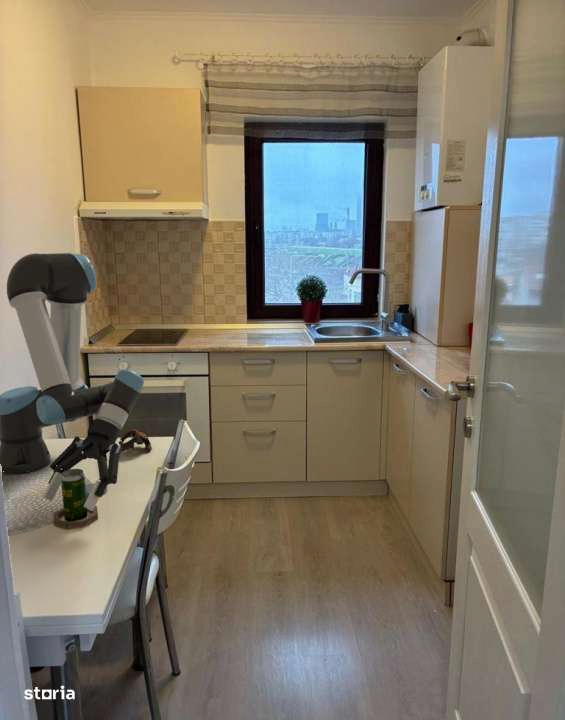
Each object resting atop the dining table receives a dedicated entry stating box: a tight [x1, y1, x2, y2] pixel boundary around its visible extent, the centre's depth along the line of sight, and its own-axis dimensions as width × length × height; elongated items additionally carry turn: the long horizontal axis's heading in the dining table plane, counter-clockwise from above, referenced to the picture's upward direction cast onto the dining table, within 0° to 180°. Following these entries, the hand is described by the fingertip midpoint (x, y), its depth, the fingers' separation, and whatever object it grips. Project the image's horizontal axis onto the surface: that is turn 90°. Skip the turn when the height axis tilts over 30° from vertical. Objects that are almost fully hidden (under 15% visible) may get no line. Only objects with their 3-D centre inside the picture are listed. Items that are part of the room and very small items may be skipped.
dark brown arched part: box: [118, 428, 153, 452], centre depth 180 cm, size 12×10×8 cm
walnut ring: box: [53, 505, 99, 531], centre depth 134 cm, size 10×10×2 cm
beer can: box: [60, 468, 89, 522], centre depth 133 cm, size 5×5×12 cm
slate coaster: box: [85, 482, 108, 499], centre depth 149 cm, size 9×9×1 cm
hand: (67, 503), depth 131 cm, fingers open, 12 cm apart
